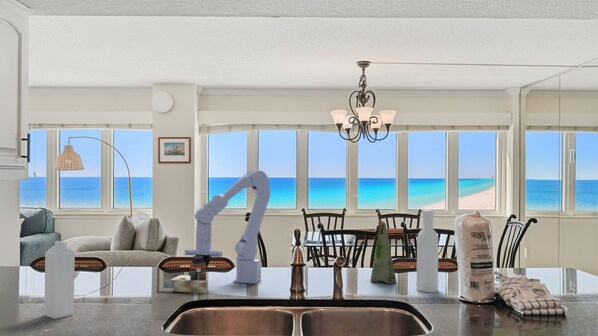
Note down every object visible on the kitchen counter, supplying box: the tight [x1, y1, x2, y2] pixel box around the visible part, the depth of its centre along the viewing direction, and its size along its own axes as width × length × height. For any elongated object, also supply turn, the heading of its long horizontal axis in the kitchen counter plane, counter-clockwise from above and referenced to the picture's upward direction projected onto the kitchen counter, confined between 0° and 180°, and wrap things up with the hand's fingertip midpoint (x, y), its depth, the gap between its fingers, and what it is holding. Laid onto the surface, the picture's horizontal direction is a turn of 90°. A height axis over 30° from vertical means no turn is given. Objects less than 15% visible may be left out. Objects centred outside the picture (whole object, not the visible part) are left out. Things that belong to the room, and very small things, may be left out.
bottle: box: [415, 209, 439, 293], centre depth 195 cm, size 8×8×30 cm
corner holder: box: [173, 278, 208, 294], centre depth 188 cm, size 12×5×4 cm, turn 79°
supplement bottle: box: [189, 255, 207, 281], centre depth 194 cm, size 6×6×11 cm
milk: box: [43, 240, 76, 320], centre depth 155 cm, size 6×6×22 cm
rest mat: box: [170, 274, 190, 282], centre depth 208 cm, size 9×9×1 cm
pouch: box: [370, 219, 397, 285], centre depth 208 cm, size 11×12×25 cm
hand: (202, 274), depth 199 cm, fingers closed
